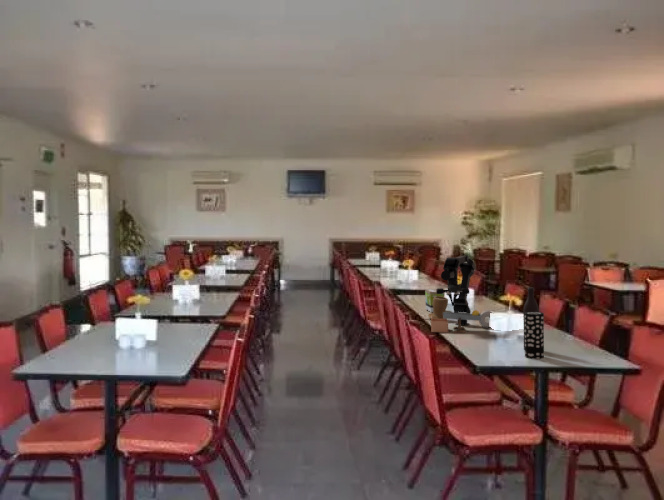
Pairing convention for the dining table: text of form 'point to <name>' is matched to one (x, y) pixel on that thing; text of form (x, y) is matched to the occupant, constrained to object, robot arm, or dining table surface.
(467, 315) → the grey flat piece
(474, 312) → the ball
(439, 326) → the brown boxy piece
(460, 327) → the lever stand
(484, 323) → the donut
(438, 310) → the stone cup
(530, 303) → the wine bottle
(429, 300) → the tea box
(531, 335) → the white-spotted black cylinder
